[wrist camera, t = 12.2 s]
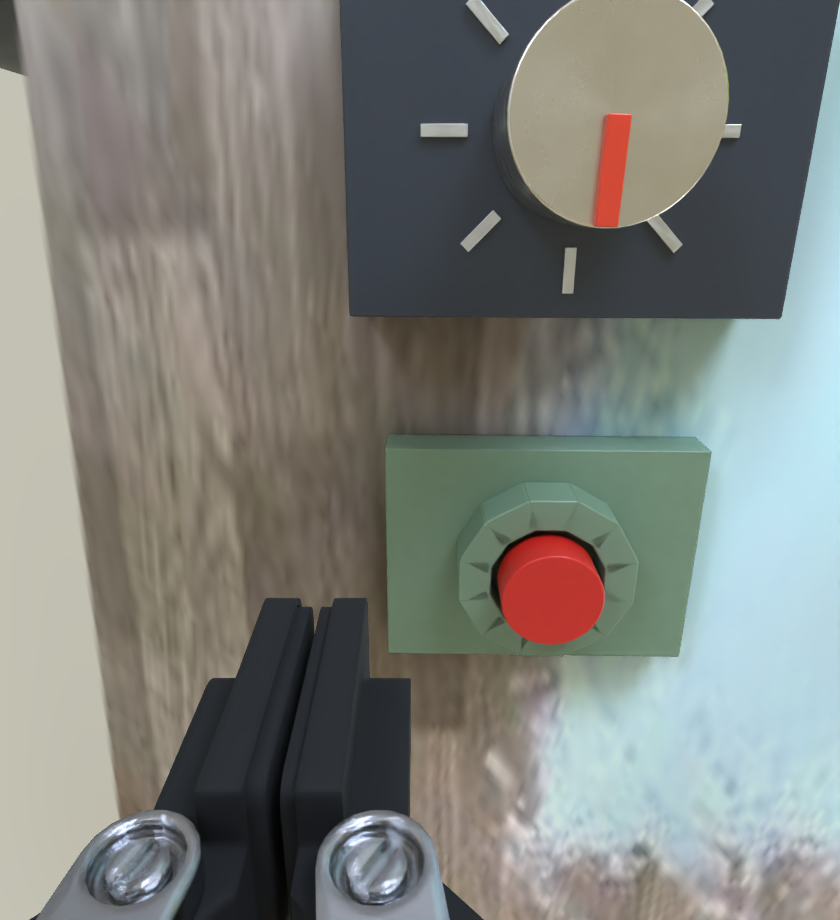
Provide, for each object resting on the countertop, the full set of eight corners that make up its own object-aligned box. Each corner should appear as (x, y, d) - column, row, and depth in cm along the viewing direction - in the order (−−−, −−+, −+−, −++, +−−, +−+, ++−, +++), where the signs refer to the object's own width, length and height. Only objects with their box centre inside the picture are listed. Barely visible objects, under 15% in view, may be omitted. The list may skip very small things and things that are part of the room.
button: (495, 617, 26) (499, 645, 25) (499, 532, 25) (503, 555, 23) (589, 618, 26) (600, 646, 25) (598, 533, 25) (610, 557, 23)
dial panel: (358, 304, 25) (348, 317, 22) (348, -56, 21) (335, -97, 19) (743, 306, 25) (784, 320, 22) (802, -57, 21) (862, -98, 18)
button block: (390, 629, 30) (385, 681, 27) (387, 434, 27) (381, 466, 24) (665, 633, 30) (694, 685, 27) (695, 436, 27) (732, 469, 24)
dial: (498, 26, 20) (517, -27, 15) (681, 32, 20) (756, -18, 15) (485, 220, 21) (499, 226, 17) (653, 226, 21) (713, 233, 17)
